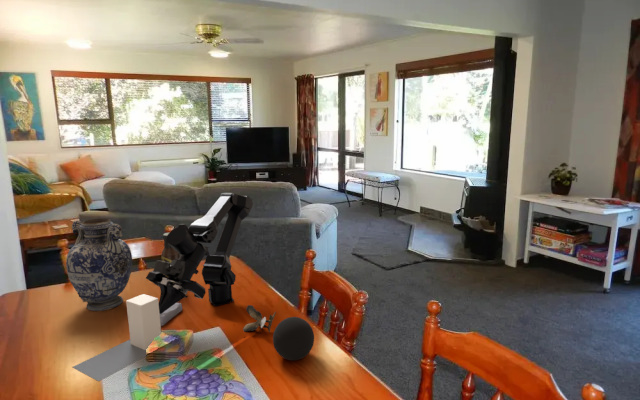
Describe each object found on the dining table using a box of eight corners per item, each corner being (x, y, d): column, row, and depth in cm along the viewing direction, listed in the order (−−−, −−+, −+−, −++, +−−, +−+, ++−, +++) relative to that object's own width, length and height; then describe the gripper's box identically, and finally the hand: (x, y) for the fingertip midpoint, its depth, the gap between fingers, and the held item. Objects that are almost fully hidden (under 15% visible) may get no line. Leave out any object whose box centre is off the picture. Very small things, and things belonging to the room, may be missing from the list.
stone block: (134, 333, 119) (164, 329, 116) (130, 317, 118) (160, 313, 116) (158, 316, 130) (186, 312, 128) (154, 301, 130) (182, 297, 127)
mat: (153, 330, 116) (153, 328, 115) (179, 340, 110) (179, 338, 110) (72, 370, 97) (72, 367, 97) (99, 384, 91) (98, 381, 91)
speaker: (318, 348, 105) (317, 311, 103) (308, 371, 95) (307, 330, 93) (281, 344, 107) (279, 308, 105) (267, 366, 97) (266, 326, 95)
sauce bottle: (161, 286, 148) (156, 233, 145) (179, 282, 152) (174, 230, 149) (167, 292, 143) (162, 236, 140) (185, 287, 147) (180, 233, 144)
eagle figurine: (276, 319, 119) (247, 311, 120) (275, 305, 114) (245, 298, 115) (267, 343, 113) (237, 335, 115) (266, 330, 108) (234, 322, 110)
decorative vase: (54, 310, 130) (44, 224, 125) (104, 290, 147) (97, 213, 142) (104, 321, 122) (95, 229, 117) (151, 298, 139) (144, 217, 134)
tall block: (148, 335, 111) (144, 293, 109) (162, 341, 108) (158, 298, 106) (130, 344, 107) (126, 300, 105) (145, 350, 104) (140, 305, 102)
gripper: (148, 243, 117) (116, 293, 109) (194, 252, 107) (161, 308, 99) (173, 262, 125) (144, 310, 117) (218, 272, 115) (189, 325, 107)
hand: (158, 313), depth 110 cm, fingers closed
